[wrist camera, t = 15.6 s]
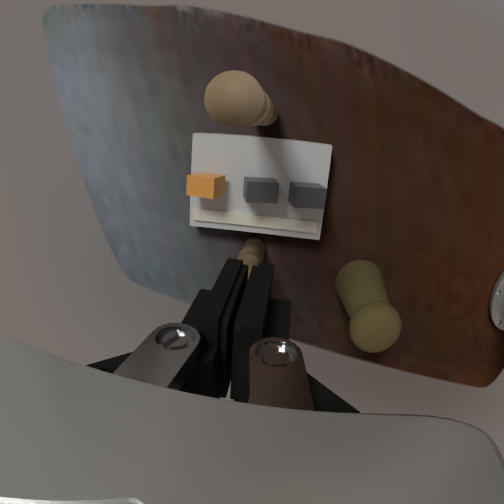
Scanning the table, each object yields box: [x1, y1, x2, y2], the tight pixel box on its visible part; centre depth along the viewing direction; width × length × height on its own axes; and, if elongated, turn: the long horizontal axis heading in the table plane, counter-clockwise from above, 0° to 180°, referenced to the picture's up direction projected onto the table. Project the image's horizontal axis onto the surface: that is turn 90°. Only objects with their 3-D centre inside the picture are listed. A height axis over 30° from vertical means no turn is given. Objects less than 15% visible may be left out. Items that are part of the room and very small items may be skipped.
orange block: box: [187, 172, 226, 199], centre depth 31 cm, size 3×2×2 cm, turn 84°
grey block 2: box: [288, 181, 327, 209], centre depth 31 cm, size 3×2×2 cm, turn 86°
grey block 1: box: [243, 177, 279, 204], centre depth 31 cm, size 3×2×2 cm, turn 86°
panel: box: [190, 133, 332, 240], centre depth 33 cm, size 14×10×2 cm
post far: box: [237, 237, 265, 278], centre depth 28 cm, size 3×3×20 cm
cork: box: [335, 260, 401, 353], centre depth 32 cm, size 6×6×11 cm
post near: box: [204, 70, 278, 126], centre depth 22 cm, size 3×3×20 cm
